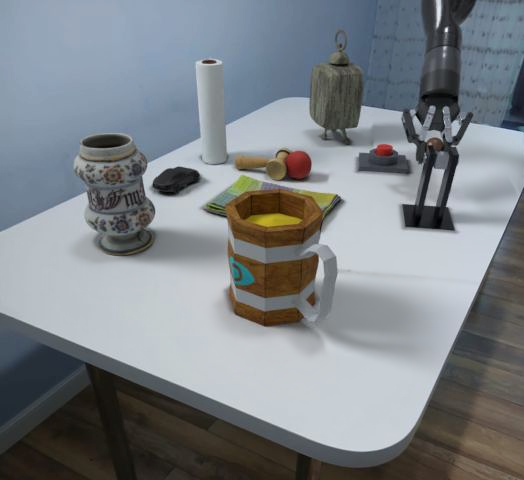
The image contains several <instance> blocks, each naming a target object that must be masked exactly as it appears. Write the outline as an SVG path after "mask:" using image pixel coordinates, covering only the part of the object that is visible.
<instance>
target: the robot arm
mask: <svg viewBox="0 0 524 480" xmlns="http://www.w3.org/2000/svg"><path fill="white" fill-rule="evenodd" d="M477 1H478V0H420V5H419V7H420V10H419V11H420V17H421V23H422V30H423V34H424V38H425V42H424V53H423V61H422V65H421V71H420V76H419V89H418V90H419V91H418V101H417V105H416V107H415V108H413V109H409V108H405V109H404V110H403V111H402V115H401V118H400V120H401V123H402V126H403V131H404V133H405V137H406V141H407V142H408V144H412V143H413V144H414V145H415V146H416V147H415V157H414V158H415V161H416V162H417V164H418V165H423V158H424V155H426V153H425V145H426V142H427V141H425V140H426V137H427V135H428V132H431V131H436V132H439V134H440V139H441V140H442V142H443V145H444V146H443V150H442V152H448V154H449V150H450V147H457V146H459V145H460V143H461V141H462V139H463V138H464V135H465V134H466V131H467V129H468V128H469V125H470V124H471V123H472V119H473V118H474V113H473V112H472V111H469V112H467V113H466V112H464V111H461V107H460V105H459V97H460V87H461V77H462V49H463V30H462V27H461V25H462V24H463V23H464V22H466V20H468V18H469V17H470V16H471V14H472V12H473V10H474V8H475V6H476V5H477ZM415 117H416V119H417V120H418V122H419V124H420V125H421V129H420V132H419V134H418V133H417V132H416V128H415V124H414V120H415ZM456 119H458V125H459V126H460V127H459V128H458V130H457V132H456V134H455V135H453V133H452V131H453V125H452V124H453V123H454V121H455V120H456Z"/></svg>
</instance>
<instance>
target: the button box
mask: <svg viewBox="0 0 524 480" xmlns="http://www.w3.org/2000/svg"><path fill="white" fill-rule="evenodd" d="M376 150H377V147H376V148H375V147H374V148H372V149H370V150H369V152H359V153H358V160H357V161H358V163H357V164H358V167H357V172H367V173H368V172H369V173H384V174H401V175H407V174H408V171H409V167H408V161H407V155H406V154H399V152H398V151H397V150H395V149H393V150H392V155H391V156H381V155H377V154H376Z"/></svg>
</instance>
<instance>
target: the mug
mask: <svg viewBox="0 0 524 480" xmlns="http://www.w3.org/2000/svg"><path fill="white" fill-rule="evenodd" d="M225 209H226V214H227V216H226V219H227V235H228V236H227V240H228V241H227V259H228V267H229V281H230V283H229V293H228V296H229V299H230V303H231V306H232V309H233V312H234V315H235V316H238V317H240V318H242V319H245V320H248V321H250V322H252V323H255V324H257V325H260V326H262V327H270V326H275V325H283V324H291V323H292V324H293V323H297V322H298V323H299V322H300V321H301V320H302V319H303V318H305V319H306V321H308V322H309V323H312V324H322V323H323V322H325V321H326V320H327V318H328V317H329V315H330V314H331V311H332V306H333V300H334V292H335V287H336V282H337V278H338V273H339V271H338V261H337V259H338V258H337V255H336V254H335V252H333V250H332V249H331V248H330V247H329V246H328V245H327V244H323V243H322V244H321V243H320V233H321V232H320V231H321V226H322V222H323V221H322V217H323V211H322V210H321V208H320V207H319V205H318V204H317V203H316V201H315V200H314V198H313V197H312V196H308V195H304V194H300V193H296V192H292V191H289V190H285V189H281V188H280V189H269V190H258V191H247V192H244V193H243V194H241V195H240V196H238V197H236V198H235V199H233V200H232V201H230V202H228V203H227V204H225ZM320 260H321V261H322V262H323V280H322V284H321V288H320V295H319V296H320V297H319V305H318V311H317V310H316V309H315V308H314V306H315V305H316V294H315V287H316V277H317V273H318V268H319V262H320Z"/></svg>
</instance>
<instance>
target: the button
mask: <svg viewBox="0 0 524 480" xmlns="http://www.w3.org/2000/svg"><path fill="white" fill-rule="evenodd" d="M376 148H377V150H376V154H377V155H381V156H391V155H392V150H394V146H392V145H391V144H388V143H380V144H377V145H376Z"/></svg>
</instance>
